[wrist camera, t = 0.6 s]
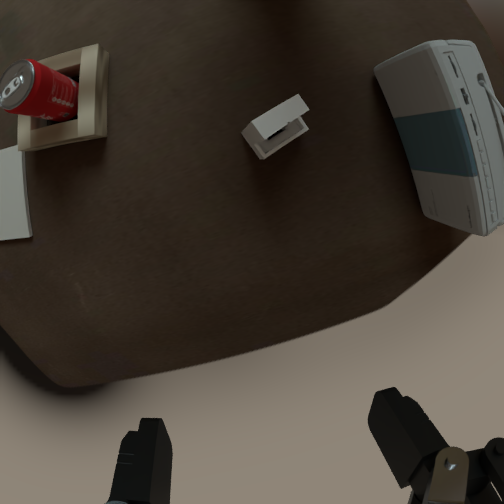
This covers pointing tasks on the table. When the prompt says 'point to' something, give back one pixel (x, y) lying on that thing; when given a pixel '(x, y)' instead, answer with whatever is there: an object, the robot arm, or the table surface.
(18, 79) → the beverage can
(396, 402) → the robot arm
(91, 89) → the collar
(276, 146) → the white wedge bracket
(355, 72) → the table surface
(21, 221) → the pad
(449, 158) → the stereo radio cassette player
